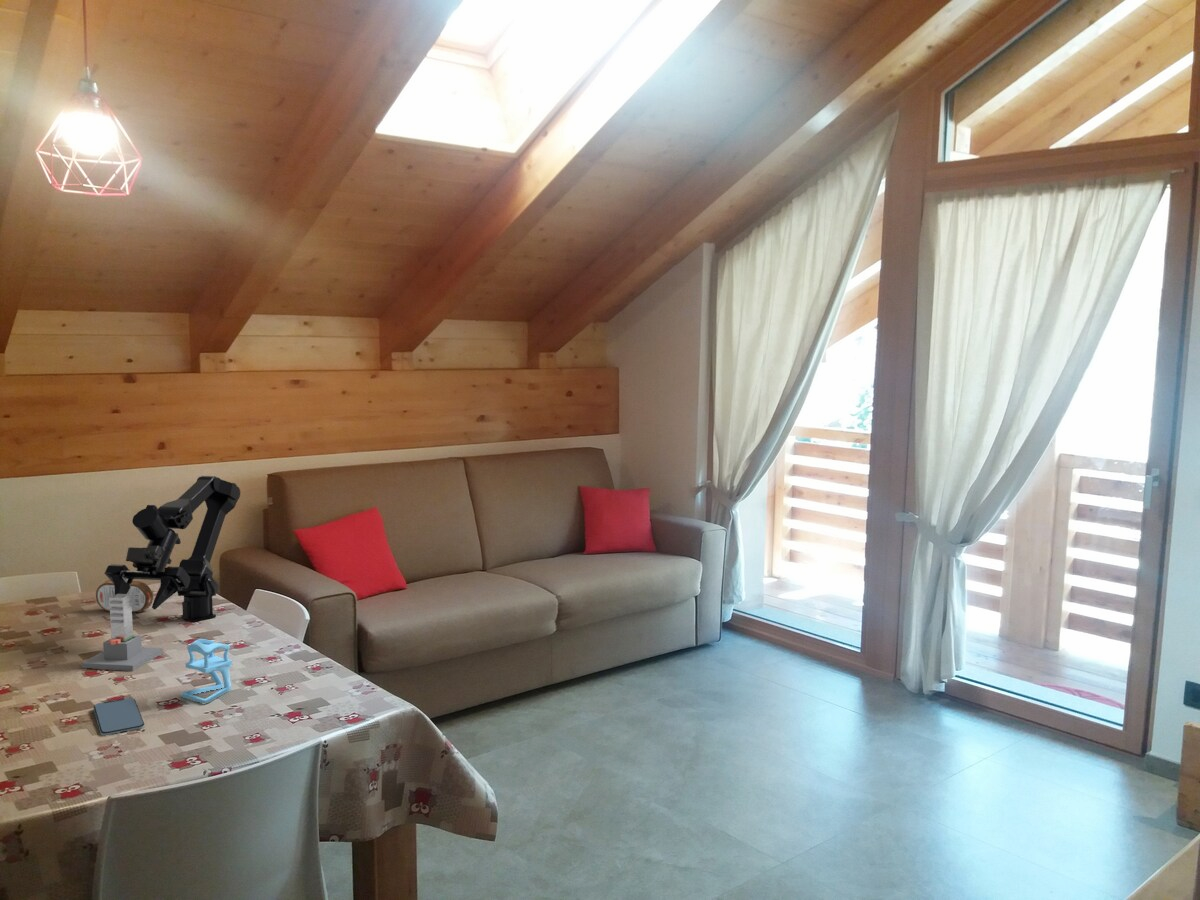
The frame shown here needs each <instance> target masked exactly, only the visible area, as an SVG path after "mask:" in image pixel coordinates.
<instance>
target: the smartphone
mask: <svg viewBox="0 0 1200 900" xmlns="http://www.w3.org/2000/svg"><path fill="white" fill-rule="evenodd" d="M93 714H94V718H95V720H96V723H97V726H99V727H98V730H99V733H100V735H101V736H102V737H107V736H106V735H109V736H113V735H114V736H115V735H118V734H119V735H120V734H124V733H129V732H132V731H133V732H134V731H139V729H140V730H143V729H144V728H145V727H144V726H145V722H144V719H143V717H142V714H141V712H140V709H139V706H138V703H137V701H136V699H135V698H133V697H126V698H120V699H119V698H118V699H113V700H109V701H104V702H99V703H96V704H94V705H93Z"/></svg>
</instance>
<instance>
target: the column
mask: <svg viewBox="0 0 1200 900" xmlns="http://www.w3.org/2000/svg"><path fill="white" fill-rule="evenodd" d="M109 601H110V611H109V615H110V616H109V617H110V618H109V619H110V622H109V623H110V639H121V642H127V641H129V640H131V639H133V638H134V636H135V635H134V630H133V613H132V602H131V594H116V595H114V596H112V597H110V598H109Z"/></svg>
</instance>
